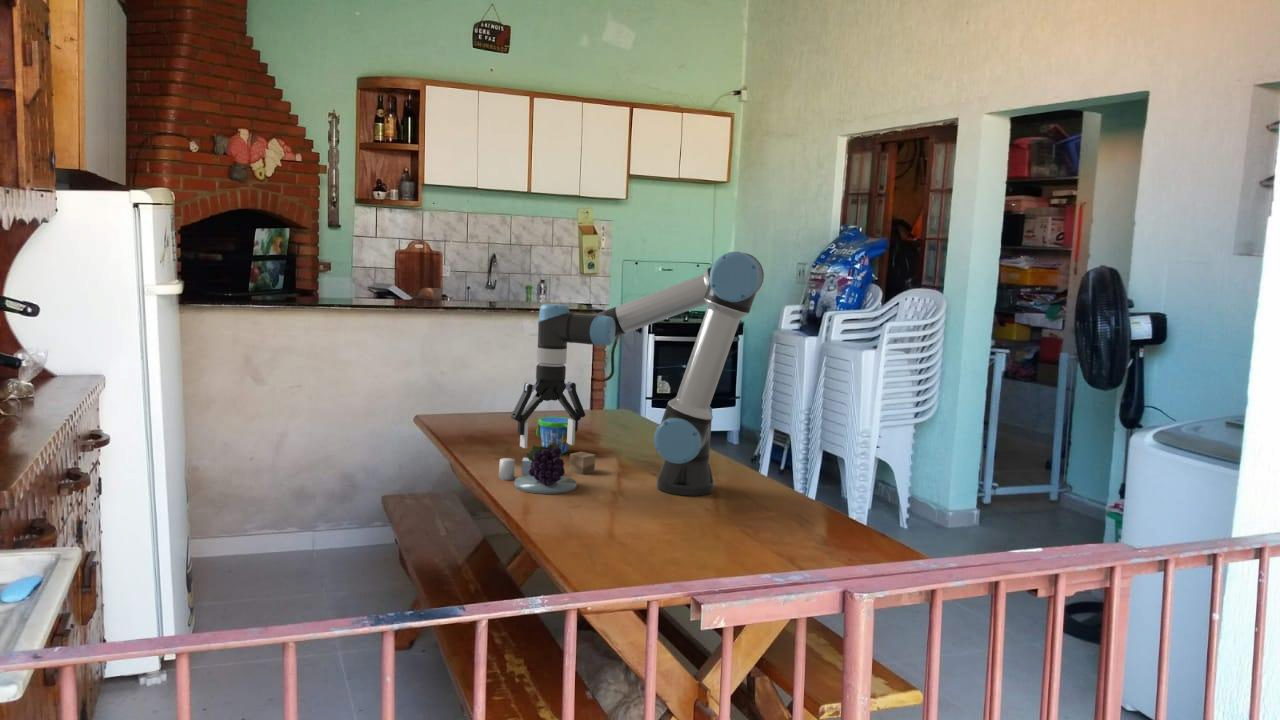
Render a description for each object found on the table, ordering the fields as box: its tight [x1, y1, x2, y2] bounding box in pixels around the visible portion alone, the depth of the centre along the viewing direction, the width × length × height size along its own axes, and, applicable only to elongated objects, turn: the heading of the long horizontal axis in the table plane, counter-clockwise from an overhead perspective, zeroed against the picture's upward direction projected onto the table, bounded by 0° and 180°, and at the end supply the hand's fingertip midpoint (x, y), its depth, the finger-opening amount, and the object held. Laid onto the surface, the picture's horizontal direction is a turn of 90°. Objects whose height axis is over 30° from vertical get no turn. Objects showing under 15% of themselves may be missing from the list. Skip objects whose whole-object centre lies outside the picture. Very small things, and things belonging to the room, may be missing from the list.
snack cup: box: [535, 416, 576, 455], centre depth 283 cm, size 16×10×10 cm
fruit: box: [525, 444, 566, 486], centre depth 243 cm, size 10×11×15 cm
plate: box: [514, 475, 577, 495], centre depth 243 cm, size 16×16×1 cm
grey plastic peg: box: [498, 457, 516, 481], centre depth 249 cm, size 4×4×5 cm
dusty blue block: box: [521, 457, 532, 476], centre depth 256 cm, size 4×8×4 cm, turn 92°
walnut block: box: [568, 451, 596, 476], centre depth 262 cm, size 5×5×5 cm
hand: (547, 445), depth 242 cm, fingers open, 13 cm apart
